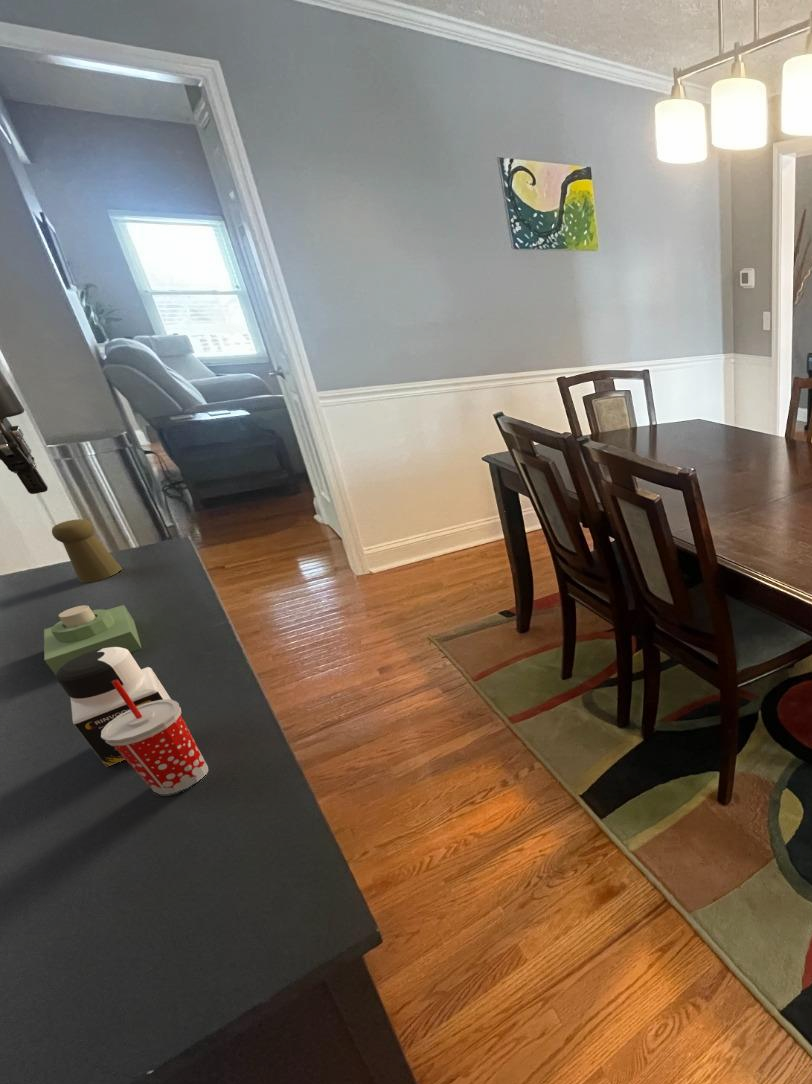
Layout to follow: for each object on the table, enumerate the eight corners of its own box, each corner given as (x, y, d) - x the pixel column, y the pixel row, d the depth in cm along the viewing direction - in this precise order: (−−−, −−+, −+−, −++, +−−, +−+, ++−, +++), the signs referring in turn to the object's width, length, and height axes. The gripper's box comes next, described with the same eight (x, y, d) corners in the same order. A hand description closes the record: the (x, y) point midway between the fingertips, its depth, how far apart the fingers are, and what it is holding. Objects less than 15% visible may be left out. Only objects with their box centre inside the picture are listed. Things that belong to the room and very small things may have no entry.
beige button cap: (96, 621, 89) (89, 610, 88) (66, 631, 87) (58, 619, 86) (95, 614, 91) (88, 602, 90) (66, 623, 89) (58, 611, 88)
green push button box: (141, 648, 90) (124, 621, 88) (57, 678, 84) (36, 649, 82) (134, 621, 97) (117, 595, 95) (56, 646, 92) (36, 619, 89)
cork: (75, 577, 112) (40, 524, 107) (118, 564, 117) (86, 513, 112) (83, 585, 109) (47, 531, 104) (126, 572, 114) (94, 519, 109)
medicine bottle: (107, 769, 68) (44, 687, 63) (102, 740, 73) (43, 661, 67) (186, 734, 73) (135, 655, 67) (178, 709, 77) (128, 632, 71)
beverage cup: (229, 755, 69) (169, 658, 63) (195, 797, 64) (126, 696, 57) (170, 763, 69) (103, 666, 62) (131, 806, 63) (53, 705, 57)
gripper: (-60, 386, 94) (9, 489, 102) (-72, 396, 85) (4, 508, 94) (10, 378, 98) (70, 477, 107) (5, 387, 90) (71, 494, 98)
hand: (39, 491), depth 100 cm, fingers closed
